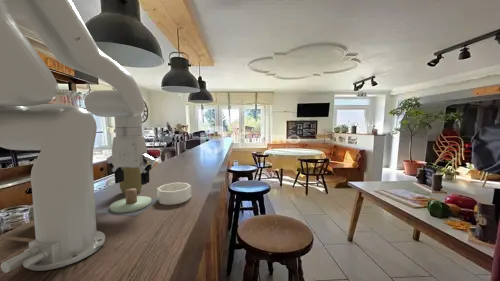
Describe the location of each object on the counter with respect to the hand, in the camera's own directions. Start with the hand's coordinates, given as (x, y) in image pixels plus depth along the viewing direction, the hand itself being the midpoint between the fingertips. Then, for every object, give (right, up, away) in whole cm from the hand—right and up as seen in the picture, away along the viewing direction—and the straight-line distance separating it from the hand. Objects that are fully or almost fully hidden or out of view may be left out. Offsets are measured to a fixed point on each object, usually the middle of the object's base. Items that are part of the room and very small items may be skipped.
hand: (132, 182), depth 66 cm
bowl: (+12, -8, +6) cm, 15 cm away
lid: (0, -8, 0) cm, 8 cm away
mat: (0, -8, 0) cm, 8 cm away
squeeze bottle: (-8, -7, +13) cm, 17 cm away
